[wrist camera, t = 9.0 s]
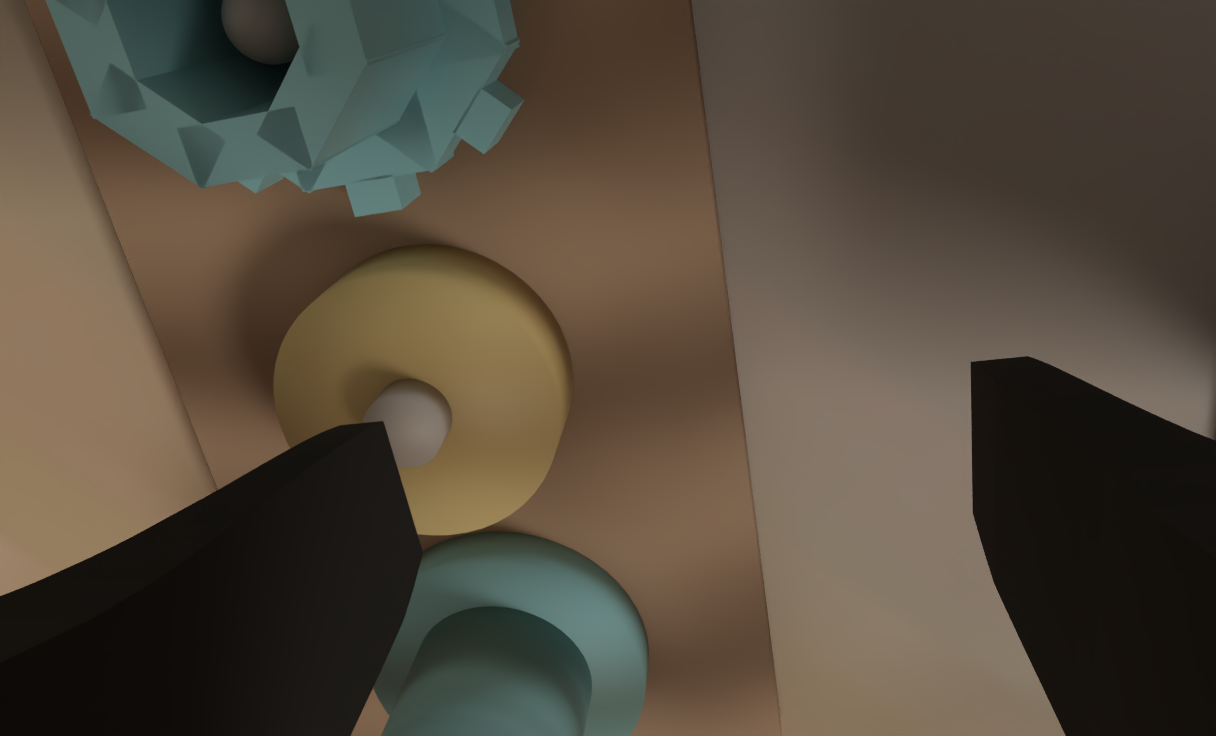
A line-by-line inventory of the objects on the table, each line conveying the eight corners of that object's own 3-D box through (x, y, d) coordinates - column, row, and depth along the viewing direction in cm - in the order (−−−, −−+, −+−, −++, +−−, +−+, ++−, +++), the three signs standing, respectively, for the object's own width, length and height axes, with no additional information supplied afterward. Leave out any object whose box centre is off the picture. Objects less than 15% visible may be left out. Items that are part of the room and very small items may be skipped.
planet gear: (486, -288, 15) (380, -387, 11) (578, 168, 18) (526, 245, 14) (84, -181, 17) (-165, -227, 12) (231, 225, 20) (77, 313, 15)
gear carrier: (5, -139, 18) (-361, -178, 12) (654, -291, 16) (607, -435, 10) (337, 729, 27) (223, 957, 21) (779, 713, 25) (796, 964, 19)
